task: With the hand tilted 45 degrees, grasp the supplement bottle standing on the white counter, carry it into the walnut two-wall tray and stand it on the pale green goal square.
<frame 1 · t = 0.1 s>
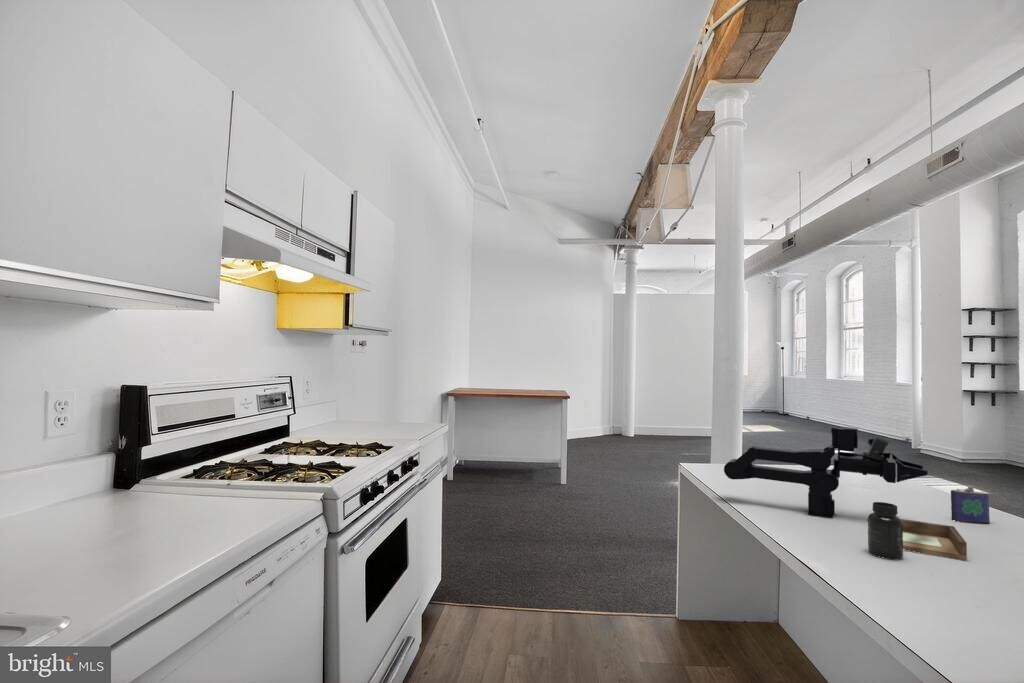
hand: (925, 470, 145), 17 cm above the kitchen island, tool horizontal, fingers open, 9 cm apart
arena: (919, 544, 131), on the kitchen island
flask: (970, 522, 153), on the kitchen island
supplement bottle: (885, 555, 124), on the kitchen island
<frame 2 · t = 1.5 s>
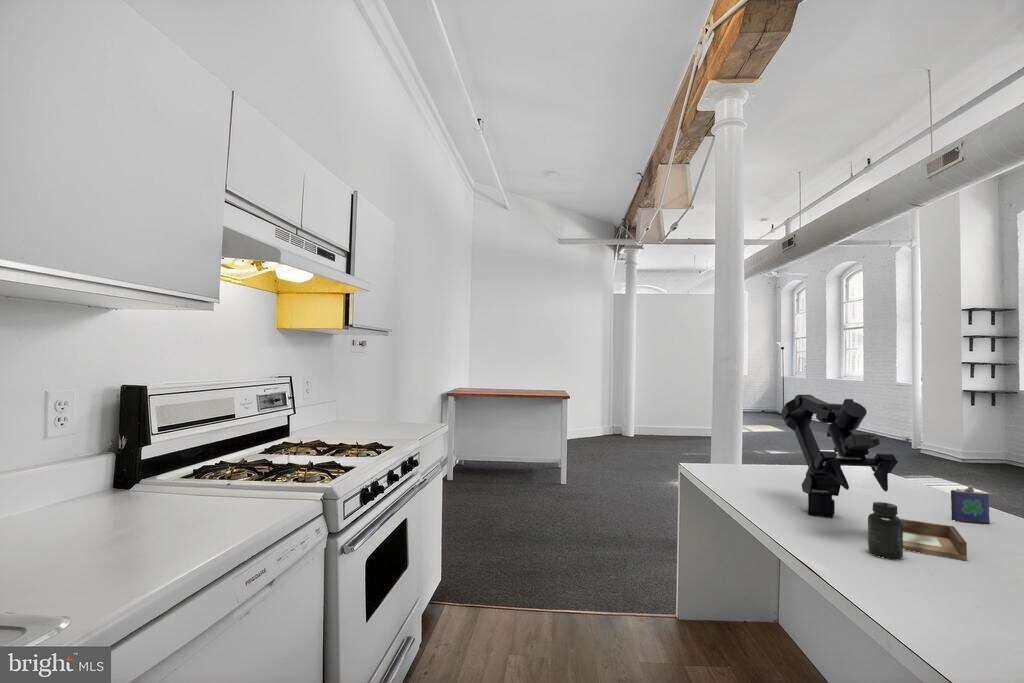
hand: (867, 489, 132), 14 cm above the kitchen island, tool tilted 45°, fingers open, 9 cm apart
nothing on the kitchen island moved.
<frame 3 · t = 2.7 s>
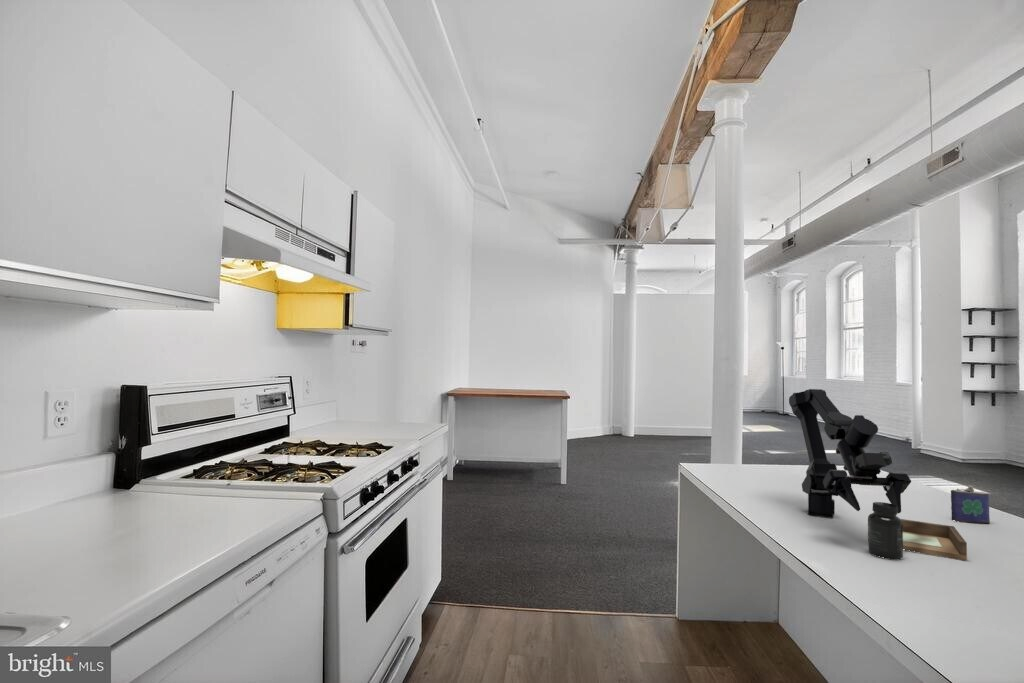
hand: (879, 511, 127), 10 cm above the kitchen island, tool tilted 45°, fingers open, 9 cm apart
nothing on the kitchen island moved.
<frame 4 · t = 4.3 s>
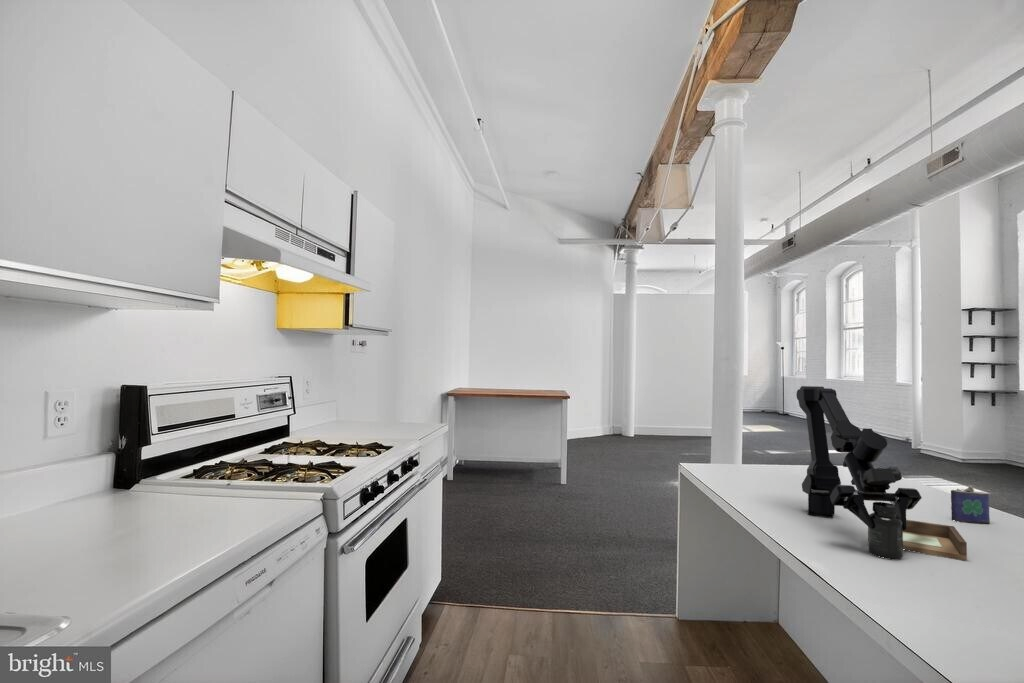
hand: (888, 528, 123), 7 cm above the kitchen island, tool tilted 45°, fingers closed on supplement bottle, 7 cm apart
supplement bottle: (885, 555, 124), on the kitchen island, touching gripper
everything else where it was.
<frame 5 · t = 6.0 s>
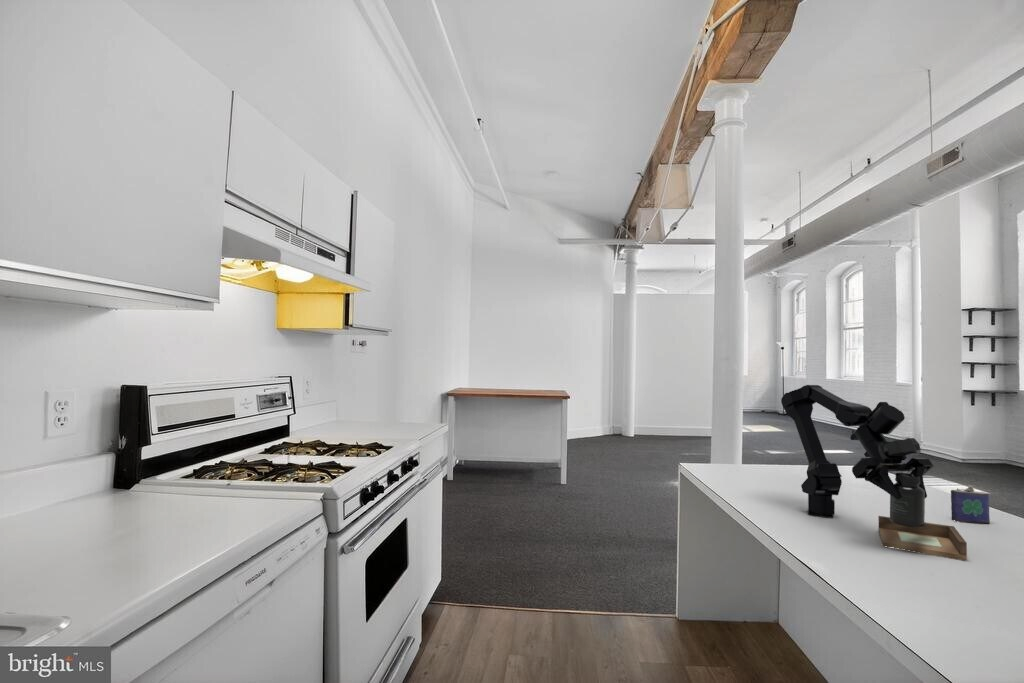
hand: (912, 497, 126), 13 cm above the kitchen island, tool tilted 45°, fingers closed on supplement bottle, 7 cm apart
supplement bottle: (906, 524, 128), point 6 cm above the kitchen island, touching gripper
everything else where it was.
when the fingers open (9 cm above the kitchen island, at t = 7.7 s): supplement bottle drops 1 cm, resting on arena.
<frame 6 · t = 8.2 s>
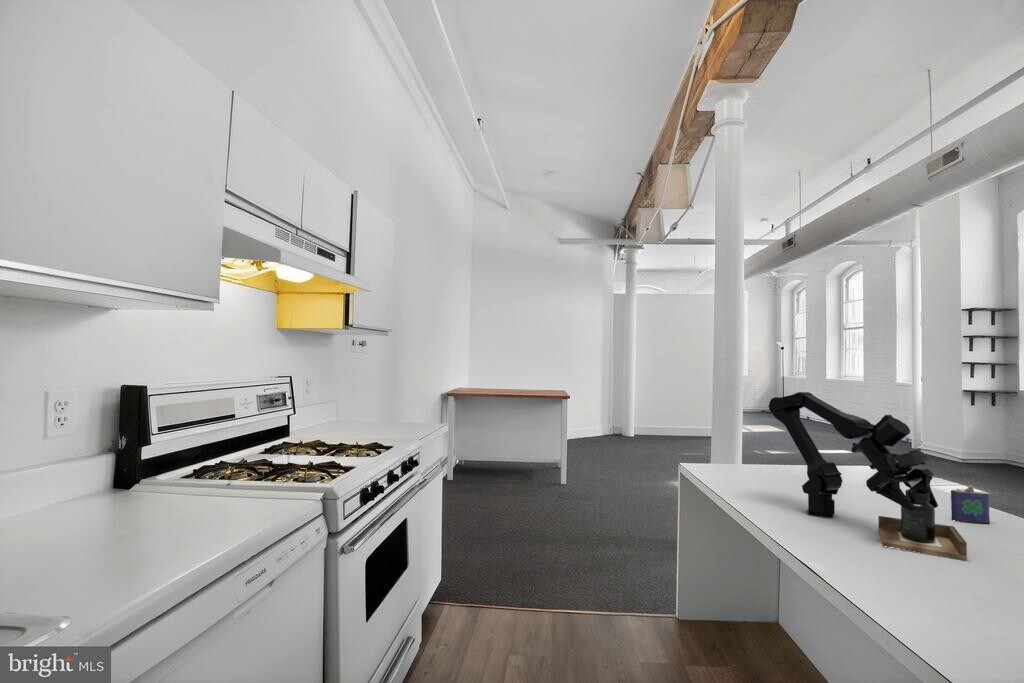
hand: (924, 508, 131), 10 cm above the kitchen island, tool tilted 45°, fingers open, 9 cm apart
supplement bottle: (917, 539, 132), point 1 cm above the kitchen island, touching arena
everything else where it was.
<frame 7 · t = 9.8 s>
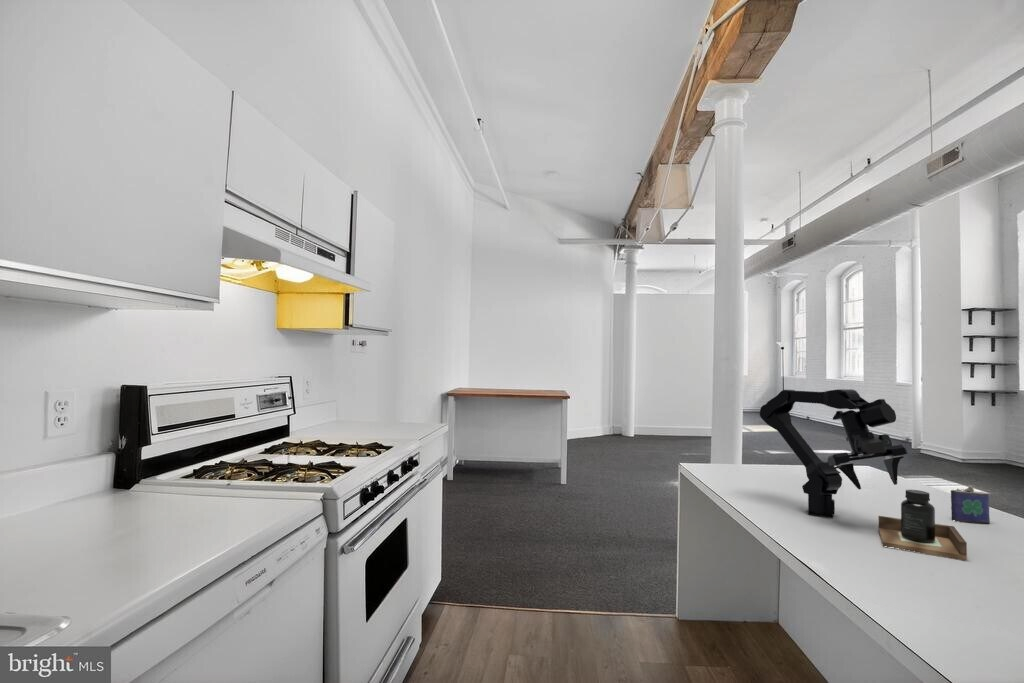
hand: (877, 487, 143), 12 cm above the kitchen island, tool tilted 20°, fingers open, 9 cm apart
nothing on the kitchen island moved.
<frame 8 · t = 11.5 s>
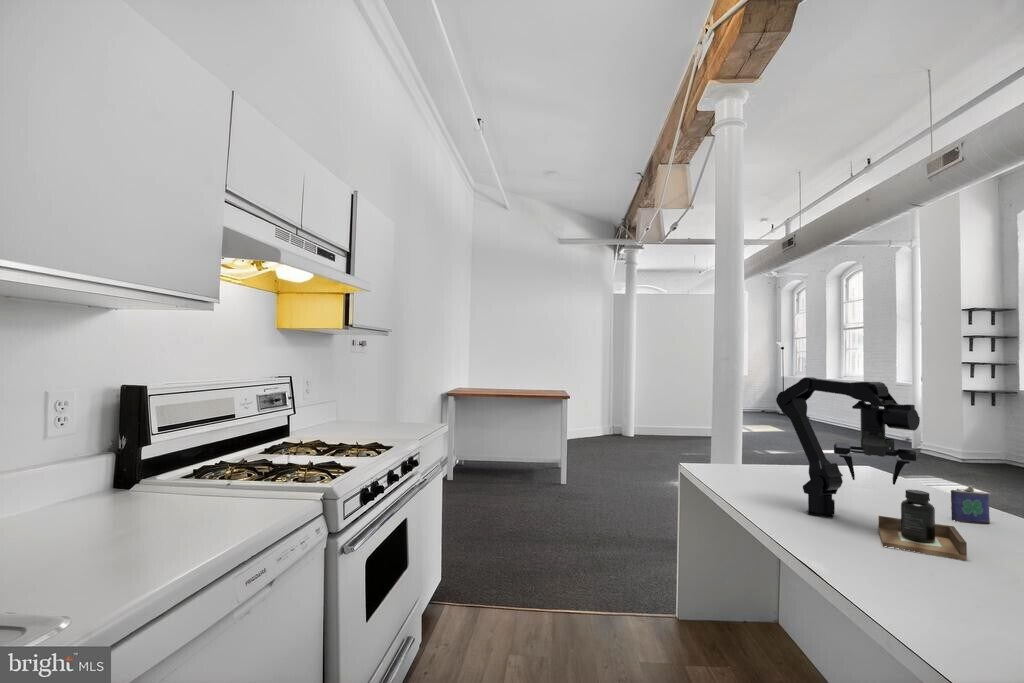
hand: (873, 482, 144), 13 cm above the kitchen island, tool pointing down, fingers open, 9 cm apart
nothing on the kitchen island moved.
at the end: supplement bottle inside the target area on the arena (0.2 cm from its centre), point 1.2 cm above the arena's base; supplement bottle tilted 0°; the gripper is holding nothing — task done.
